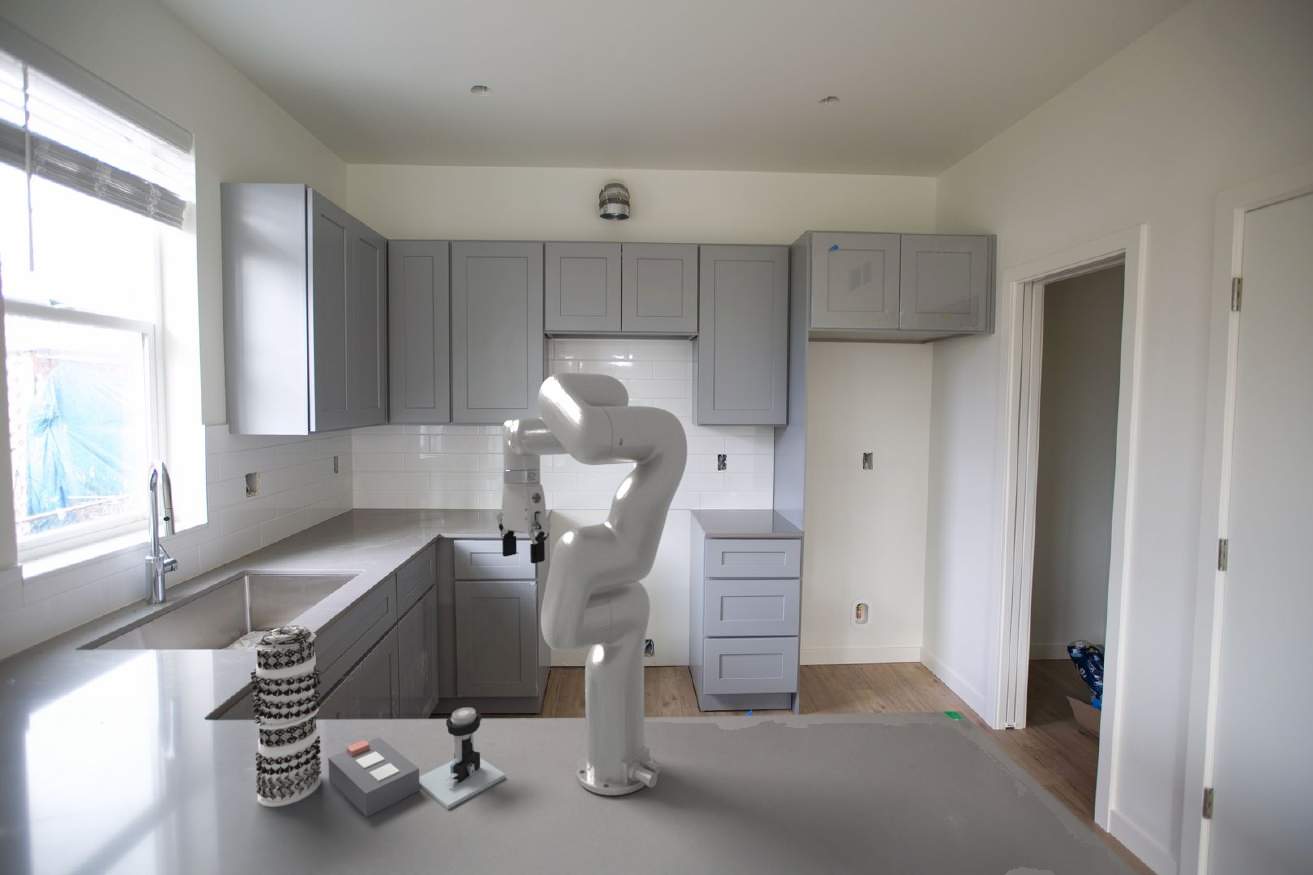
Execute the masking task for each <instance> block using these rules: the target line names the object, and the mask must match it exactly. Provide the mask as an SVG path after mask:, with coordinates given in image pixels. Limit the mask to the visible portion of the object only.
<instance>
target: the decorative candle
mask: <svg viewBox="0 0 1313 875" xmlns="http://www.w3.org/2000/svg"><path fill="white" fill-rule="evenodd" d="M316 638H317V634H316V632H312V631H311V630H310V629H309V628H308V627H306V626H303V625H297V624H296V625H287V626H286V625H285V626H281V627H278V628H275V629H272V630H270V631H267V633H265V634H264V635H263V636H262V638H261V640H259V641H258V642H257V643H256V644H254V649H255V650H256V655H257V658H256V659H257V660H256V662H257V663H256V664H255V667H256V668H254V670H253V672H252V671H251V672H250V678H251V679H250V680H251V681H250V684H251V687H250V689H251V690H253V691H254V693H252V702H253V704H252V707H253V709H252V712H253V713H255V714H256V715H255V716H254V719H253V720H254V724H255V726H256V727H257V728H258V730H259V732H258V733H259V734H258V735H259V738H258V739H257V741H258V744H257V745H258V746H257V747H258V748H257V751H256V752H255V756H256V757H255V761H257V762H255V763H256V764H255V766H256V767H255V770H256V771H257V773H256V775H255V778H256V779H255V782H256V787H255V788H256V790H255V791H256V794H257V803H258V804H260V805H261V806H263V807H269V808H275V807H283V806H288V805H291V804H293V803H296V802H299V801H301V800H304V799H305V798H306V797H308V796H310V795H311V794H312V793H314V792H315V791H316V790H317V789H318V788H319V786H320V784H322V783H321V780H322V779H321V774H322V770H321V769H322V767H321V766H320V765H321V764H322V761H321V756H319V755H320V754H321V751H322V750H321V749H320V748H321V746H320V743H321V739H320V738H321V737H320V735H318V734H319V732H318V724H317V713H318V712H319V710H320V707H321V703H320V700H318V699H319V697H320V696H321V692H320V691H319V690H316V688H317V687H318V686H319V685H320V684H322V681H321V679H320V678H319V676H320V674H322V673H321V672H322V671H321V670H320V668H319V667H316V664H317V663H316V662H317V660H316V658H317V657H316V653H315V643H314V642H315V641H314V640H315V639H316Z"/></svg>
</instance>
